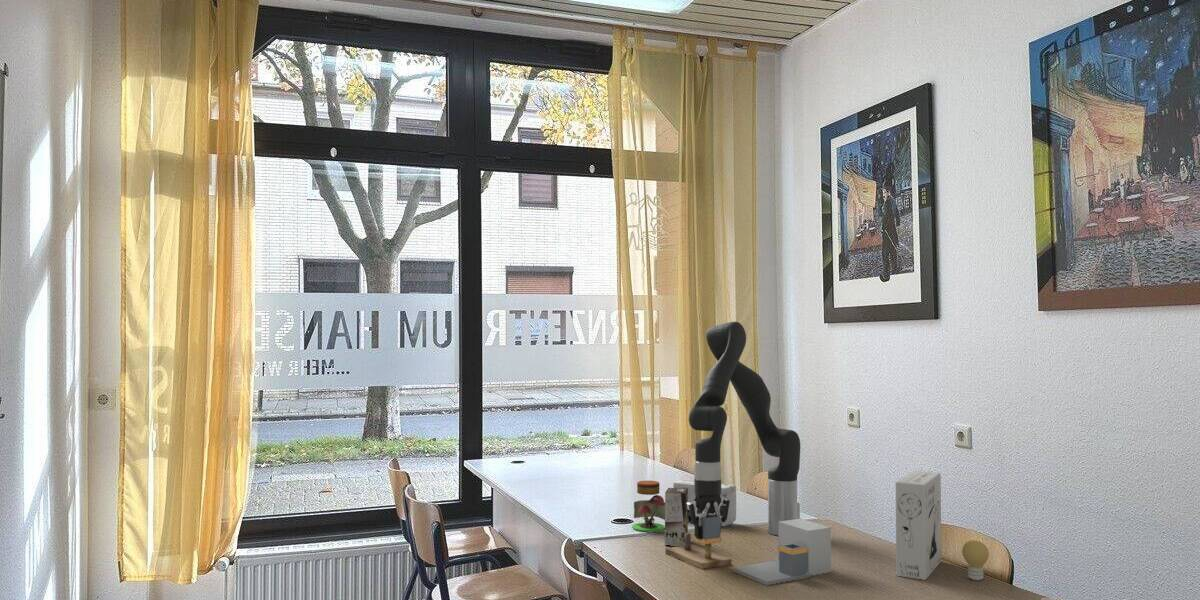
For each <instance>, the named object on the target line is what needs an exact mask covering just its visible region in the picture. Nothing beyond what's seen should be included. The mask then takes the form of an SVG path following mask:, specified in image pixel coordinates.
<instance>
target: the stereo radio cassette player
mask: <svg viewBox="0 0 1200 600" xmlns="http://www.w3.org/2000/svg"><path fill="white" fill-rule="evenodd" d="M676 464H679V465H680V466H682V467H683V468H684V469H686V470H687V471H688V472H690V473H692V474H693V475H694V471H692V470H691V469H690V468H687V467H686V466H685V465H683V464H681V463H680V462H679V461H676ZM672 488H688V503H691V502H693V501H694V499H695V492H694V480H693V479H684V478H682V479H678V480H675V481H673V482H672ZM720 497H721V499H722V498H724V499H728V500H729V501H730V503H729V509H728V515H727V520H726V521H723V522H722V523H721V527H724V528H725V527H727V526H729V525H732V524H733V523H734V522H736V520H737V487H736V485H735V484H729V483H722V482H721V494H720ZM695 508H696V509H697V507H696V506H695ZM718 508H719V510H720V505H719V507H718ZM696 509H695V512H696ZM701 514H702V513H700V515H701ZM709 514H710V513H709Z"/></svg>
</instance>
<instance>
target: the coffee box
mask: <svg viewBox="0 0 1200 600" xmlns="http://www.w3.org/2000/svg"><path fill="white" fill-rule="evenodd" d="M664 493H665V494H664V502H665V520H664V546H666V545H670V546H669V547H679V546H684V534H685V533H689V522H688V517H687V511H686V506H685V504H686V503H687V502H688V488H674V487H667V489H666V491H665V492H664Z"/></svg>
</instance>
